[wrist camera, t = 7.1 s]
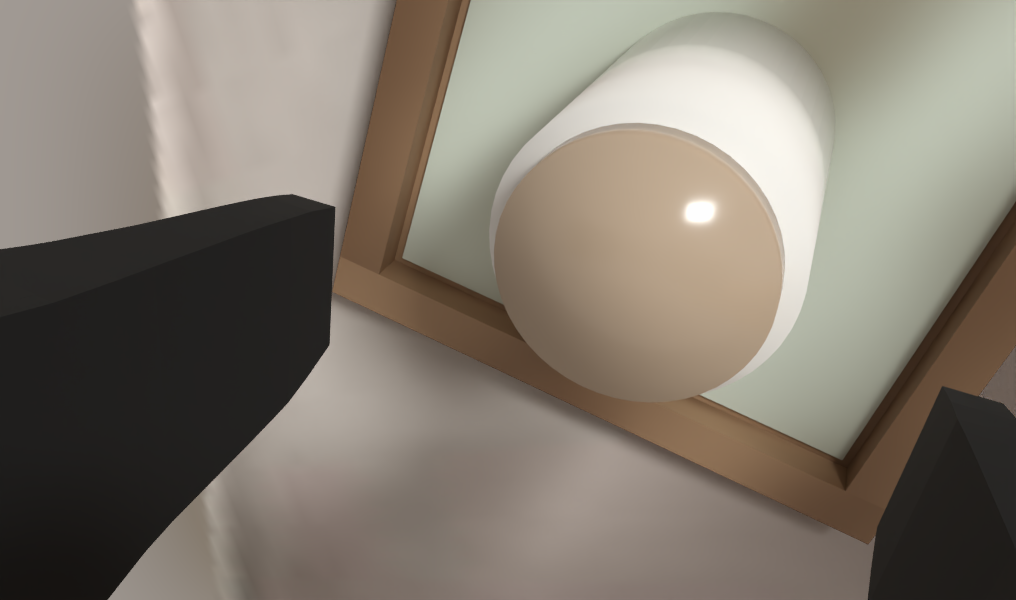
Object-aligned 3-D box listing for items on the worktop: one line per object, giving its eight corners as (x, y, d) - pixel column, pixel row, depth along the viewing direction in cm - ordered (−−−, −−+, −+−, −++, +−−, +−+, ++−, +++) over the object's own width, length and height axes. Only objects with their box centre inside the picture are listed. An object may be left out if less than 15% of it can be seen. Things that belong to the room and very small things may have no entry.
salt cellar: (872, 47, 16) (859, 173, 11) (789, 268, 18) (744, 465, 13) (628, -16, 17) (502, 70, 12) (578, 201, 19) (453, 358, 14)
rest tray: (1296, -86, 14) (1328, -76, 13) (869, 508, 21) (868, 544, 20) (505, -361, 16) (478, -371, 15) (356, 270, 23) (332, 291, 22)
